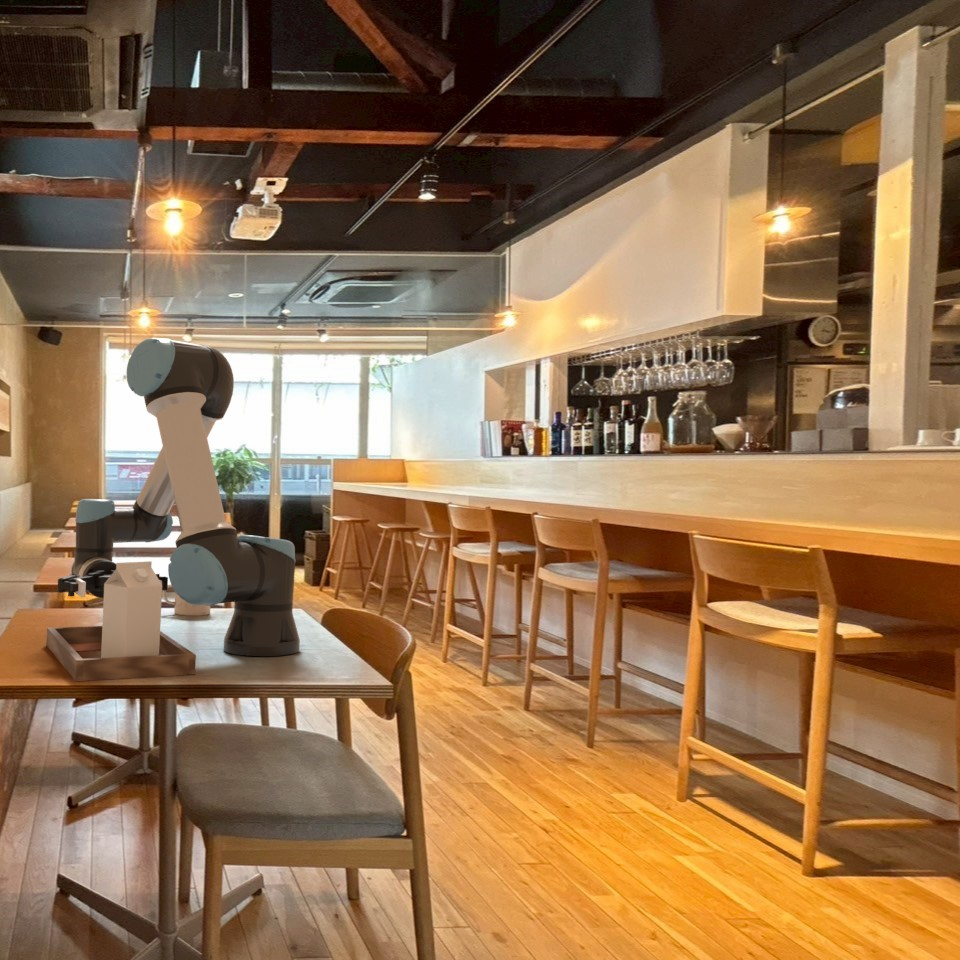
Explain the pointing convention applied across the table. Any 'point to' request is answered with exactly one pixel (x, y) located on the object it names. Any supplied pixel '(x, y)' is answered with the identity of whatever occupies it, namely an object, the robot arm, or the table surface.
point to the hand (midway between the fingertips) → (122, 588)
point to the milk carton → (131, 611)
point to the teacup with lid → (186, 606)
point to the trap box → (90, 638)
